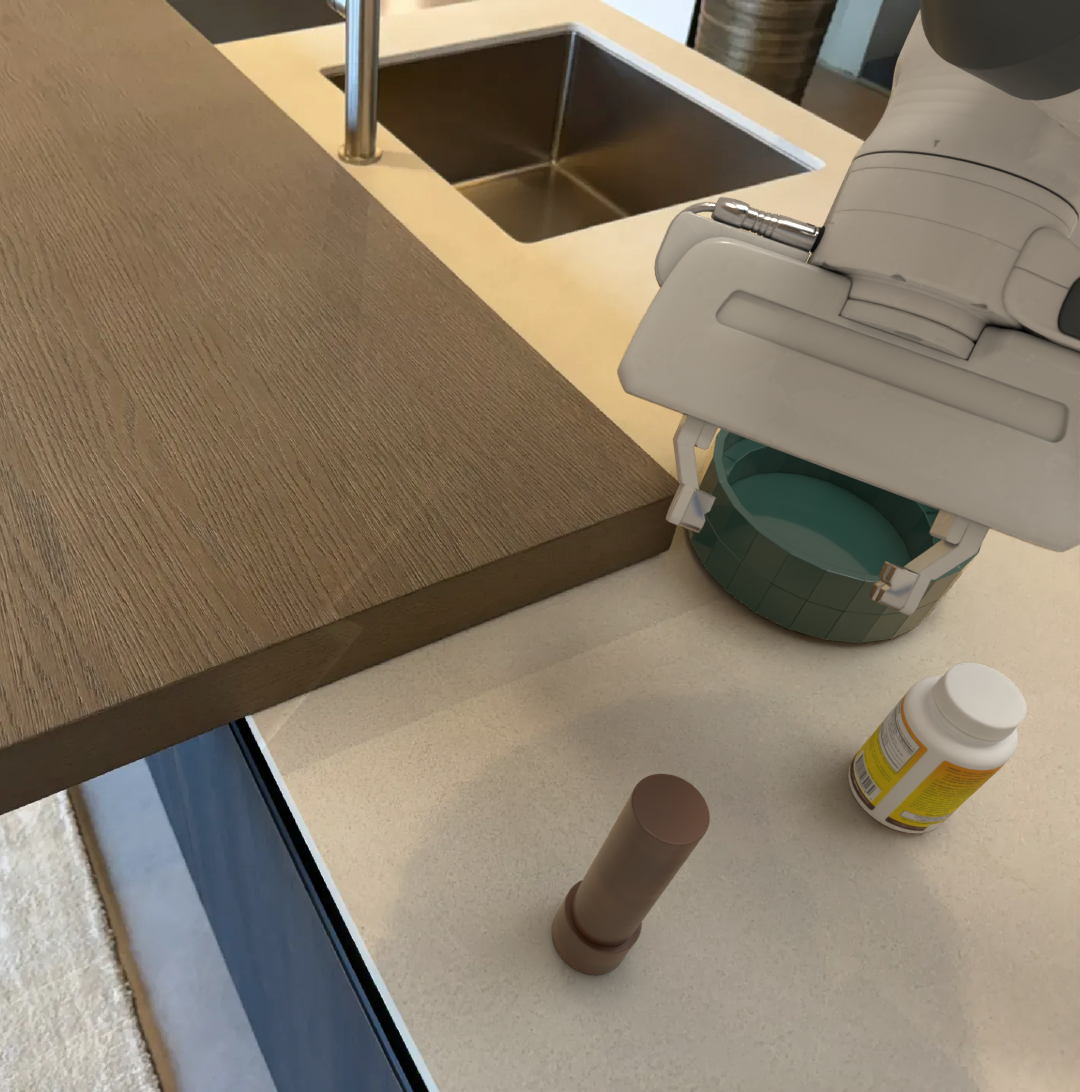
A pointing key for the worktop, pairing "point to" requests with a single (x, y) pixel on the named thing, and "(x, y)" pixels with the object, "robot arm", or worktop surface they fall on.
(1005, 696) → the supplement bottle
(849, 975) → the worktop surface
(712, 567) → the bowl
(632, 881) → the brown flanged cylinder
